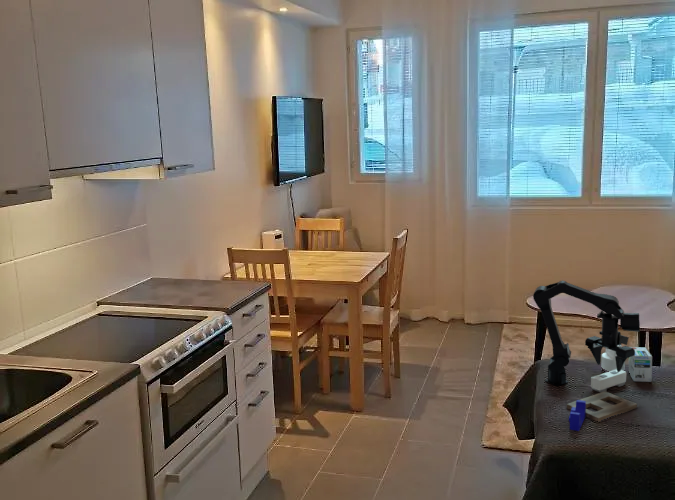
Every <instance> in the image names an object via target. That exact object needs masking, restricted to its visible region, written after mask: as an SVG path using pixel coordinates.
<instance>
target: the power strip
mask: <svg viewBox="0 0 675 500" xmlns="http://www.w3.org/2000/svg"><path fill="white" fill-rule="evenodd" d="M626 382H627V371H623V370H621V371H620V372H617V369H616V370H612V371H609V372H604V373H601V374H597V375H593V376H591V377H590V388H592V390H593V391H595V392H598V393H601V392H604V391H606V392H608V391H607V389H609V388H611V387H614V386H616V387H619V388H620V387H622V386H625V383H626Z"/></svg>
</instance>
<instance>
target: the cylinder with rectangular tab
mask: <svg viewBox="0 0 675 500" xmlns="http://www.w3.org/2000/svg"><path fill="white" fill-rule="evenodd" d="M622 345H623V344H621V345H617V347H623V346H622ZM615 356H617V355H616V351H613V350H610V349H607V348H605V352H603V353H601V362H600V365H601V366H600V368H601V367H602V368H603V369H605V370H607V371H612V370H616V369H617V367H616V359H615ZM625 365H626V361H625V362H624V364H623V366H622V368H621V370H623V371H624V370H626V368H625V367H626V366H625Z"/></svg>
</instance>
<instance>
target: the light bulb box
mask: <svg viewBox="0 0 675 500" xmlns="http://www.w3.org/2000/svg"><path fill="white" fill-rule="evenodd" d="M630 347H631V348H633V349H634V350H635V356H631V357H629V358H628V370H627V372H628V371H629V372H628V373H630V374H629V375H630V377H631V379H632V381H633V382H643V383H644V382H647V383H649V382H650V383H651V382H652V377H653V375H652V372H653V356H652V354H651V353H650V352H649V351H648V349H647V347H639V346H637V347H636V346H630Z"/></svg>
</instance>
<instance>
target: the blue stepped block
mask: <svg viewBox="0 0 675 500" xmlns="http://www.w3.org/2000/svg"><path fill="white" fill-rule="evenodd" d="M575 401H576V407H572V409H571V410H570V413H569V416H568V422H569V430H571V431H577V432H580V430H581V428H582V425H583V423H584V421H585V419H586V418H587V417H586V409H587V408H586V401H582V400H580V399H576V400H575Z"/></svg>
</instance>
